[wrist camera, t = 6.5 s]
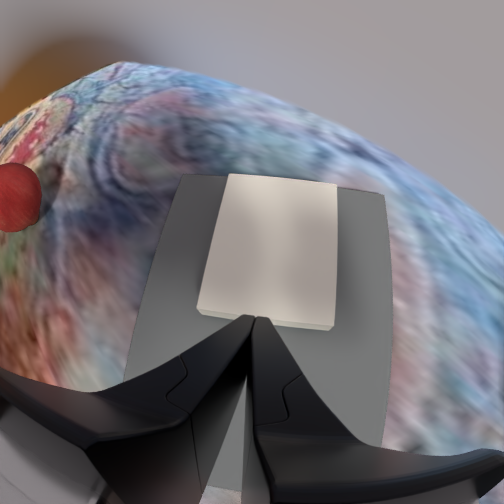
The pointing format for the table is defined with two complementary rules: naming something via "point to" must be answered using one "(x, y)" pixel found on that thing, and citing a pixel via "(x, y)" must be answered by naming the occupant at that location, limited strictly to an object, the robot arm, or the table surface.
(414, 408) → the table surface
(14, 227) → the onion
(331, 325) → the tile
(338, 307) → the mat
